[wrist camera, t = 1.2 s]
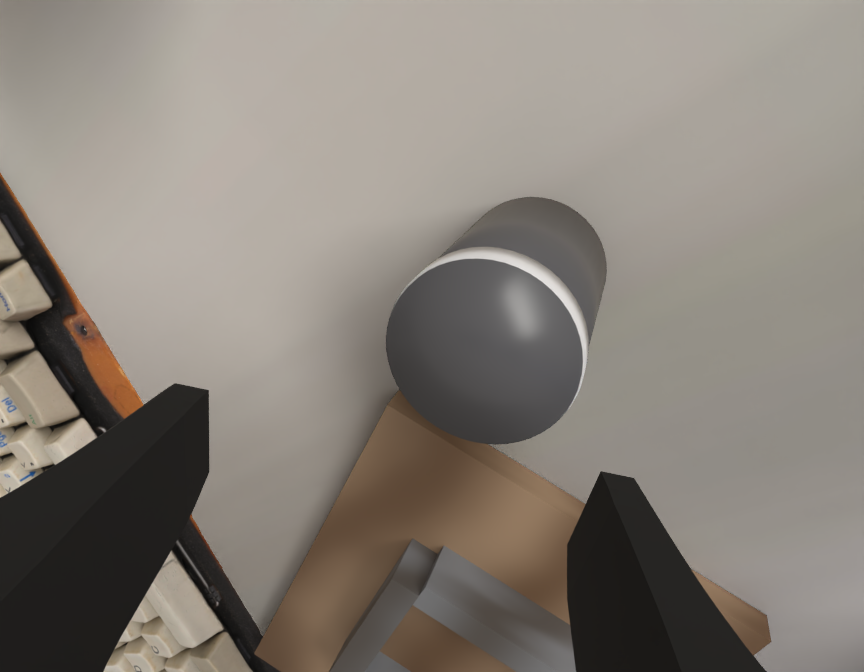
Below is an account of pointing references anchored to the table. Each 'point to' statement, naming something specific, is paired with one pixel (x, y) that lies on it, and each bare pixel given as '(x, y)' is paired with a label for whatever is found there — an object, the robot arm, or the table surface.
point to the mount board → (442, 565)
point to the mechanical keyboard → (80, 424)
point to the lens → (501, 323)
